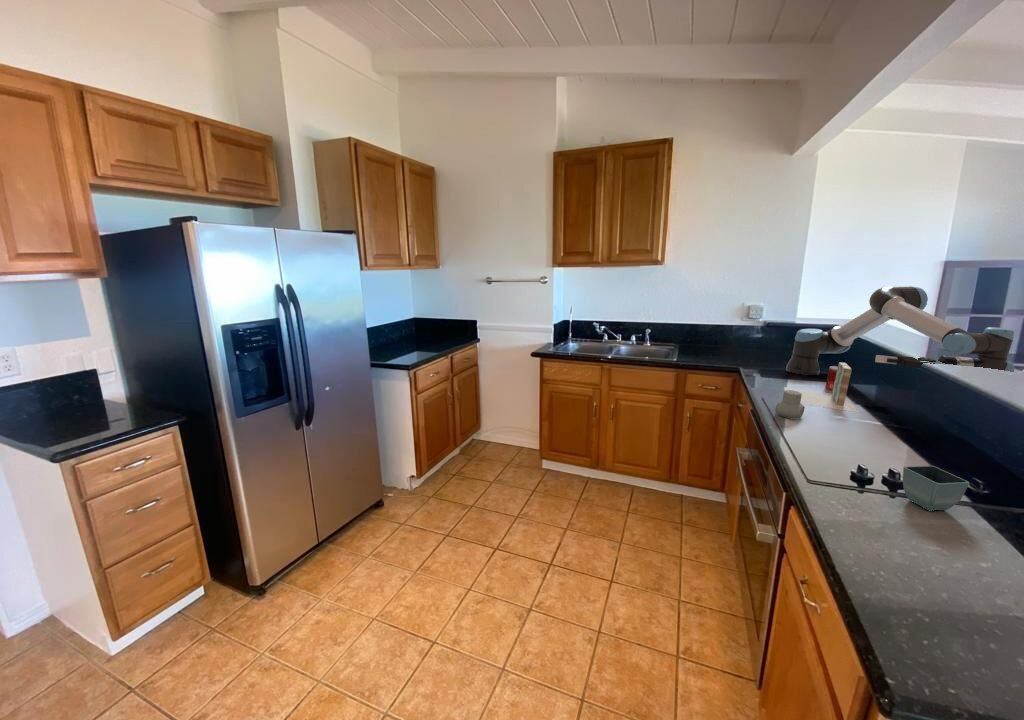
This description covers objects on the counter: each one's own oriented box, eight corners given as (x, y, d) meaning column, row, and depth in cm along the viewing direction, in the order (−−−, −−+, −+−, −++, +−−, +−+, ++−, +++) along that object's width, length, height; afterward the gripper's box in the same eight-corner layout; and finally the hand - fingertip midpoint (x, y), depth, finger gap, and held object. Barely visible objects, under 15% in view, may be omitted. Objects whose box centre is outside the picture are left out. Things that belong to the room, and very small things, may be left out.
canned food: (849, 393, 197) (854, 370, 194) (829, 392, 198) (834, 369, 196) (840, 388, 204) (845, 366, 201) (821, 387, 206) (826, 365, 203)
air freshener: (780, 410, 175) (784, 386, 172) (804, 415, 169) (808, 391, 167) (772, 416, 167) (776, 392, 165) (797, 423, 162) (801, 398, 159)
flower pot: (894, 496, 113) (902, 466, 111) (924, 495, 114) (933, 465, 112) (928, 516, 105) (937, 483, 102) (960, 515, 105) (971, 482, 103)
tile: (831, 396, 190) (838, 362, 186) (838, 397, 189) (845, 362, 185) (836, 404, 180) (844, 368, 176) (843, 405, 179) (851, 369, 175)
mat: (783, 388, 204) (783, 386, 203) (845, 396, 193) (845, 395, 193) (788, 403, 183) (788, 401, 183) (857, 413, 172) (858, 412, 172)
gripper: (958, 379, 160) (878, 371, 170) (944, 371, 171) (869, 363, 181) (963, 360, 158) (882, 352, 168) (949, 353, 169) (873, 346, 180)
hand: (876, 358), depth 175 cm, fingers closed
